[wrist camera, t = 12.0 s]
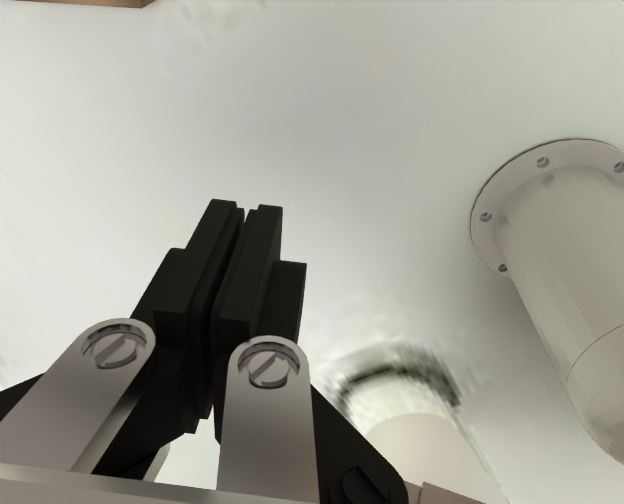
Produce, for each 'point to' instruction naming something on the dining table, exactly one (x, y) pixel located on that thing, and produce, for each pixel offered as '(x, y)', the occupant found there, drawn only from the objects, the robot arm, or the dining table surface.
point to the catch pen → (102, 2)
